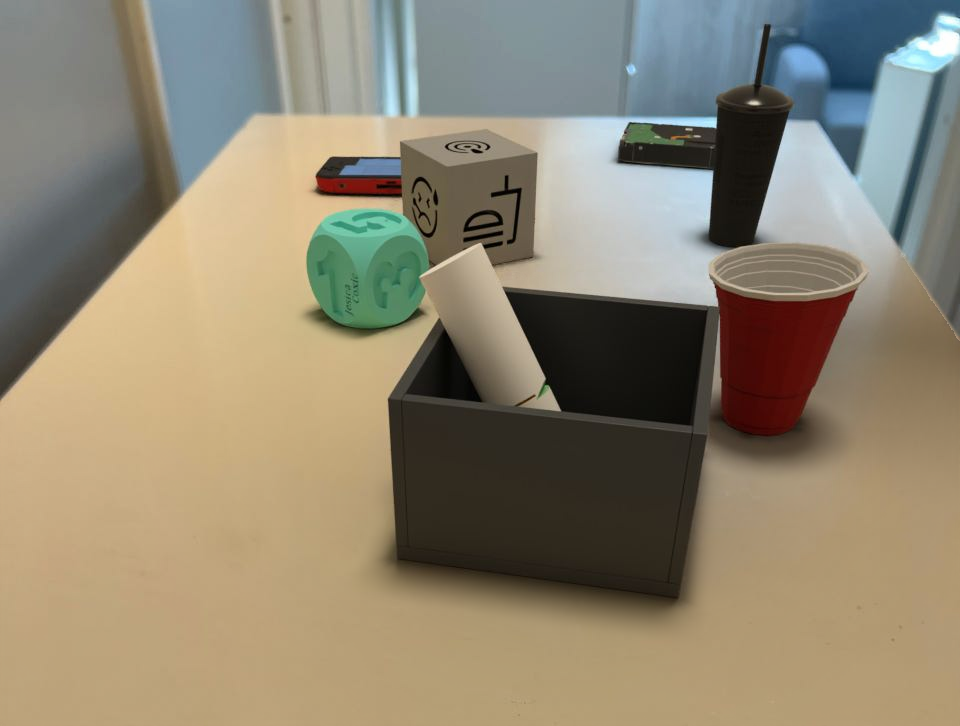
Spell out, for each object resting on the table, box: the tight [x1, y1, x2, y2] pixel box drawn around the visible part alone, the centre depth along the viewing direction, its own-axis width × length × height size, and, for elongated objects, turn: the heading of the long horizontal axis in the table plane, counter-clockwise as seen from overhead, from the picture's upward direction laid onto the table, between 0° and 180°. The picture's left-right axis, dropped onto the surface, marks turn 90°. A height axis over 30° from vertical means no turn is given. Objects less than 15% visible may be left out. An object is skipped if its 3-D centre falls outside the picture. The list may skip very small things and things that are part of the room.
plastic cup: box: [708, 242, 869, 436], centre depth 73 cm, size 11×11×12 cm
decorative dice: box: [305, 208, 430, 329], centre depth 89 cm, size 8×8×8 cm
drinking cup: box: [708, 23, 795, 248], centre depth 101 cm, size 8×8×20 cm
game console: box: [315, 155, 402, 195], centre depth 121 cm, size 14×13×2 cm
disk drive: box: [617, 121, 716, 170], centre depth 131 cm, size 10×3×15 cm
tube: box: [419, 243, 561, 411], centre depth 63 cm, size 4×4×15 cm
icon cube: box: [399, 128, 539, 266], centre depth 101 cm, size 10×10×10 cm
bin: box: [387, 286, 720, 599], centre depth 64 cm, size 18×18×11 cm
